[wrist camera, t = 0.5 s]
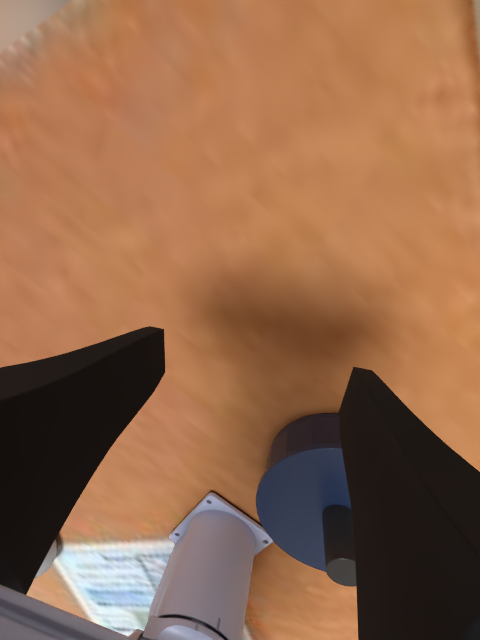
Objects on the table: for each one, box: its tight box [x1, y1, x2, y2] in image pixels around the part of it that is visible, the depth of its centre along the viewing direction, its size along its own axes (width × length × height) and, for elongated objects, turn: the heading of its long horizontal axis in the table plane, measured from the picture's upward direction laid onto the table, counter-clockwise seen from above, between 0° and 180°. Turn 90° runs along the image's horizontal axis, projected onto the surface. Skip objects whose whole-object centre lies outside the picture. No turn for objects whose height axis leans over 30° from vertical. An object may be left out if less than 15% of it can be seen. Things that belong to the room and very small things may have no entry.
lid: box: [256, 443, 357, 586], centre depth 19 cm, size 12×12×5 cm
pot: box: [266, 413, 341, 469], centre depth 22 cm, size 11×11×4 cm
